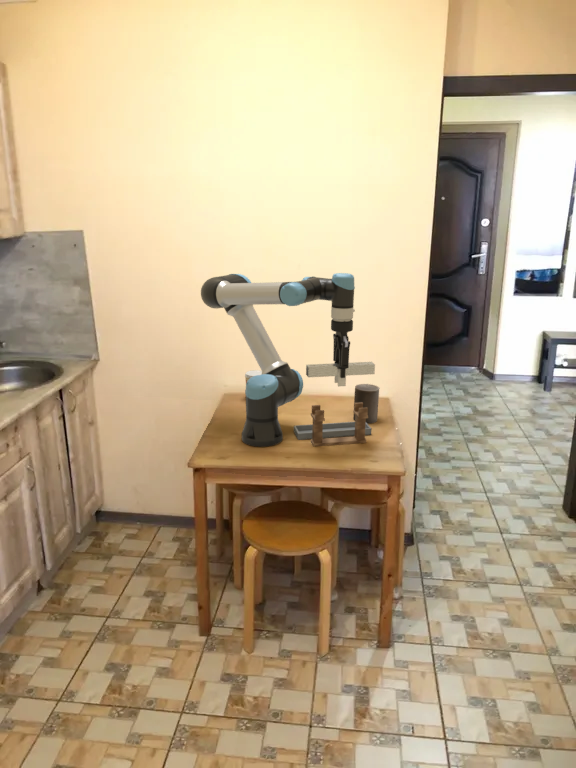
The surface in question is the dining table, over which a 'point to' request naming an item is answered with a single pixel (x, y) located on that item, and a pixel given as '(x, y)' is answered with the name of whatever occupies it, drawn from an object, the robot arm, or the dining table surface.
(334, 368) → the rail
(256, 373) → the coffee cup
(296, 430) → the tray
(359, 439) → the rack
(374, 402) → the pillar candle
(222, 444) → the dining table surface
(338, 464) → the dining table surface
